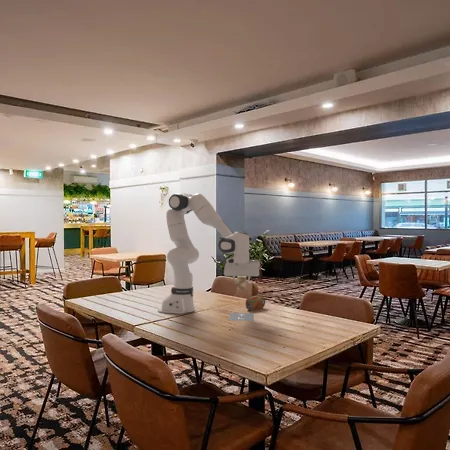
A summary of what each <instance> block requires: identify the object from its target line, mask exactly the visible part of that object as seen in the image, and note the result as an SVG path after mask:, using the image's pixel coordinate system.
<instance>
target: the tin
mask: <svg viewBox="0 0 450 450" xmlns="http://www.w3.org/2000/svg"><path fill="white" fill-rule="evenodd" d="M265 305H266V299H265V297H264V296H263V295H253V296H249V297H248V298H246V300H245V308H246V309H247V310H248V311H256V310H257V311H258V310H262V309H264V307H265Z"/></svg>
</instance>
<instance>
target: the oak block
mask: <svg viewBox="0 0 450 450" xmlns="http://www.w3.org/2000/svg"><path fill="white" fill-rule="evenodd" d="M236 280H237V284H236V290H238V291H243V290H244V291H246V290H247V284H246V281H247V276H236Z"/></svg>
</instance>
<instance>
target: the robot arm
mask: <svg viewBox="0 0 450 450" xmlns="http://www.w3.org/2000/svg"><path fill="white" fill-rule="evenodd" d="M168 206H169V207H170V208H169V209H168V210H167V211H166V224H167V229H168V234H169V237H170V238H169V239H170V240H171V241H172V242H173V244H174V245H175V246H176V247H175V248H172V249H170V250H169V251H168V253H167V256H166V258H167V262H168V264H169V265H170V266H171V267H172V271H173V275H174V277H173V278H174V286H172V287H171V289H170V294H169V295H168V296H166V297H165V298H164V299H163V300H162V302H161V306H160V307H158V309H157V312H158V313H165V314H180V315H181V314H185V313H192V312H195V311H196V308H195V303H194V286H193V284H194V283H193V278H194V277H193V273H192V272H191V270H190V268H189V265H190V264H193V263H195V262H197V260H198V259H199V257H200V252H199V249H197V248H196V247H195V246H194V244H193V243H192V241H191V238H190V236H189V234H188V229H187V224H186V220H185V214H186V215H188V214H189V213H191V212H194V214H195V217H196V218H197V219H198V220H199V221H200V222H201V223H202V224H203V225H207V226H209V227H212V228H214V229H215V230H217V231H218V233H219V234H220V235H221V236H222V238H220V239H219V241H218V245H217V246H218V249H219V250H218V251H220V252H221V253H223V254H227V255H228V254H233V256H232V257H228V258H227V259H226V260H225V261H226V263H225V265H224V267H223V268H224V269H223V275H224V276H225V277H232V279H233V281H234V284H235V285H237V279H236V277H237V276H246V277H247V278H248V279H246V285H249V281H250V279H251V277H259V276H260V266H261V262H260V261H259V260H257V259H250V251H249V250H250V237H249V233H247V232H245V231H240V230H239V231H235V232H233V231H232V229H230V227H229V226H228V224H227V223H226V222H225V221H224V220H223V219H222V217H221V216H220V215H219V213H218V212H217V211H216V209H215V208H214V206H213V205H212V204H211V202H210V201H209V200H208V199H207V197H205V196H204V195H203V194H202V193H195V194H193V195H192V194H189V193H184V192H183V193H179V192H177V193H173V194H172V195H171V196H169V198H168Z"/></svg>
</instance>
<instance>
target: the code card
mask: <svg viewBox="0 0 450 450" xmlns="http://www.w3.org/2000/svg"><path fill="white" fill-rule="evenodd" d="M254 317H255V314H254V312H252V313H250V312H249V313H248V312H229V317H228V321H232V322H233V321H237V322H238V321H239V322H241V321H242V322H245V321H247V322H254V320H255V319H254Z"/></svg>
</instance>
